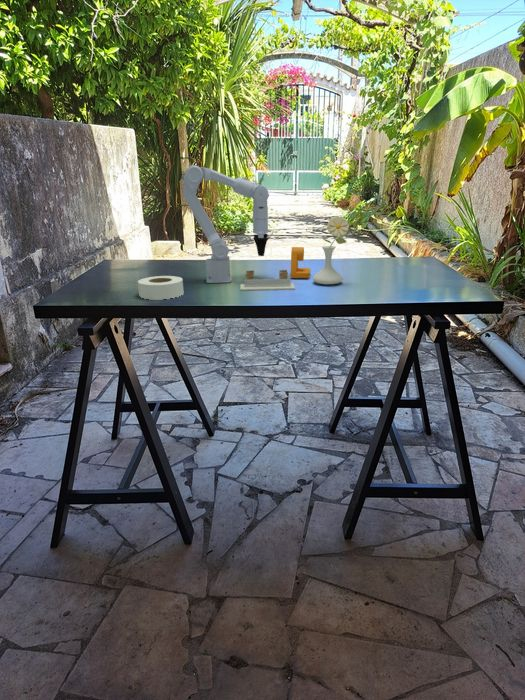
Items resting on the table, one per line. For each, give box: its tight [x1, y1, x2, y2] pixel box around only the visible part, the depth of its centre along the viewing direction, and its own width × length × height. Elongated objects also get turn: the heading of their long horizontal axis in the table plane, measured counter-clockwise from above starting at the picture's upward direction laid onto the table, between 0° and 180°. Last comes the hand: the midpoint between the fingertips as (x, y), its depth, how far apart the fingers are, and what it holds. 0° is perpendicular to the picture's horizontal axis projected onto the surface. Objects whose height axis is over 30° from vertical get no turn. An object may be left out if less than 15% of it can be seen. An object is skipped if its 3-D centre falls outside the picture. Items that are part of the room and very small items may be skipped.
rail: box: [243, 278, 291, 287], centre depth 177 cm, size 17×2×2 cm, turn 91°
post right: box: [278, 269, 289, 279], centre depth 186 cm, size 3×5×4 cm, turn 1°
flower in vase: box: [312, 215, 350, 285], centre depth 178 cm, size 13×11×25 cm
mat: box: [239, 282, 296, 292], centre depth 178 cm, size 20×8×1 cm, turn 91°
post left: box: [245, 270, 255, 279], centre depth 186 cm, size 3×5×4 cm, turn 1°
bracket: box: [290, 246, 311, 279], centre depth 193 cm, size 11×7×12 cm, turn 172°
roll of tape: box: [137, 275, 185, 301], centre depth 170 cm, size 16×16×6 cm
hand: (261, 254), depth 188 cm, fingers open, 7 cm apart
